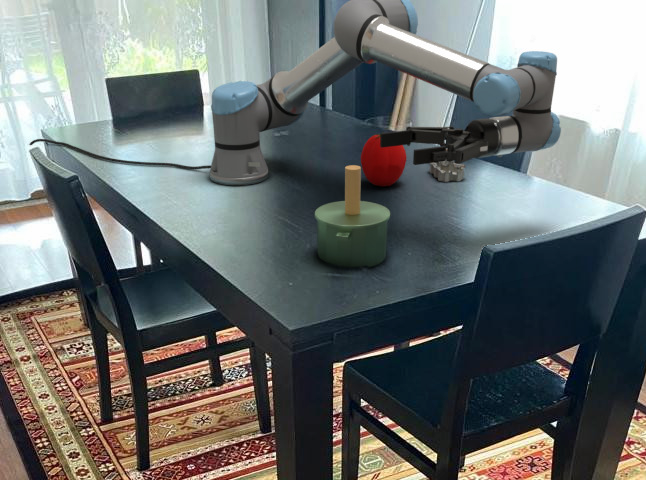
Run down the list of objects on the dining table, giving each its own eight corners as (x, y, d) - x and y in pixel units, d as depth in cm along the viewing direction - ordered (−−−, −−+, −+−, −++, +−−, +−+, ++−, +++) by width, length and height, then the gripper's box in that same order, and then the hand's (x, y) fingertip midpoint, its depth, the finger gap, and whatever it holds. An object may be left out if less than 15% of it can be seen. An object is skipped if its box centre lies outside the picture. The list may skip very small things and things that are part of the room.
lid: (306, 228, 145) (305, 176, 140) (324, 203, 158) (324, 154, 153) (383, 234, 142) (384, 181, 137) (395, 209, 155) (397, 159, 150)
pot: (307, 271, 147) (306, 229, 143) (329, 236, 163) (329, 198, 159) (376, 277, 144) (377, 235, 140) (392, 241, 160) (394, 202, 156)
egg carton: (465, 181, 197) (467, 166, 195) (437, 182, 196) (438, 167, 194) (454, 169, 206) (455, 154, 204) (427, 170, 206) (428, 155, 204)
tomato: (353, 189, 192) (353, 136, 186) (369, 175, 202) (370, 125, 196) (397, 194, 188) (399, 140, 182) (411, 180, 198) (413, 129, 192)
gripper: (524, 171, 146) (428, 185, 139) (455, 141, 166) (368, 152, 159) (529, 132, 143) (431, 144, 135) (458, 106, 163) (369, 115, 155)
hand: (396, 148), depth 147 cm, fingers open, 13 cm apart
